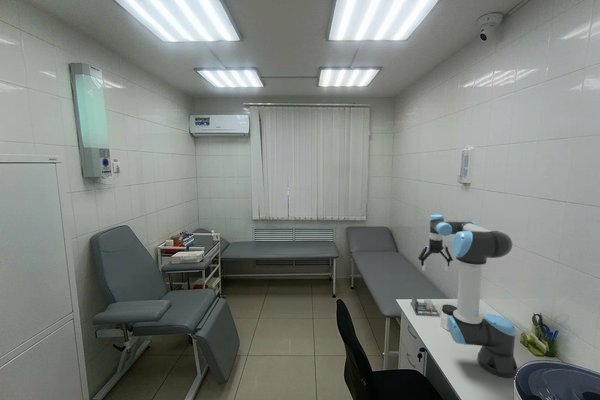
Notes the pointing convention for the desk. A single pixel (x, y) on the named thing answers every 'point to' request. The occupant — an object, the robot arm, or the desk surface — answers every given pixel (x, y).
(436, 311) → the bench
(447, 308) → the jar
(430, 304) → the block
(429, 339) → the desk surface
